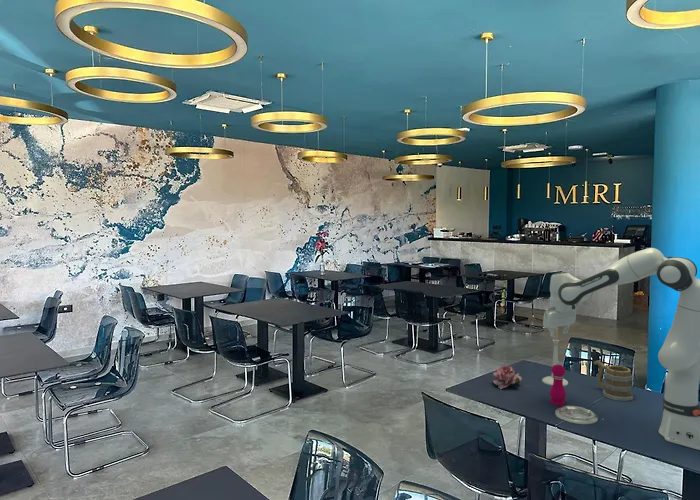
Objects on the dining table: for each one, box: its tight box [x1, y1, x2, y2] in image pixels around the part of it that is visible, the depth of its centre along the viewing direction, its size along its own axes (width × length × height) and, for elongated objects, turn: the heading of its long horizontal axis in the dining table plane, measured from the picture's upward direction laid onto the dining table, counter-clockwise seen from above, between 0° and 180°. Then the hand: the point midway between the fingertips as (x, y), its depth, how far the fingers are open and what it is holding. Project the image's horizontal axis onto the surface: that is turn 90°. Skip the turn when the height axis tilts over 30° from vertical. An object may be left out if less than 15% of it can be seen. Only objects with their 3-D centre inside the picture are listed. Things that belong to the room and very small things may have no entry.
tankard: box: [593, 359, 634, 402], centre depth 242 cm, size 20×13×15 cm, turn 22°
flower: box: [492, 364, 523, 390], centre depth 254 cm, size 15×15×10 cm
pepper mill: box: [549, 361, 567, 407], centre depth 230 cm, size 7×7×20 cm
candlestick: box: [541, 327, 569, 387], centre depth 259 cm, size 13×13×30 cm
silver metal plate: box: [554, 405, 599, 426], centre depth 215 cm, size 17×17×2 cm
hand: (559, 335), depth 229 cm, fingers open, 8 cm apart
